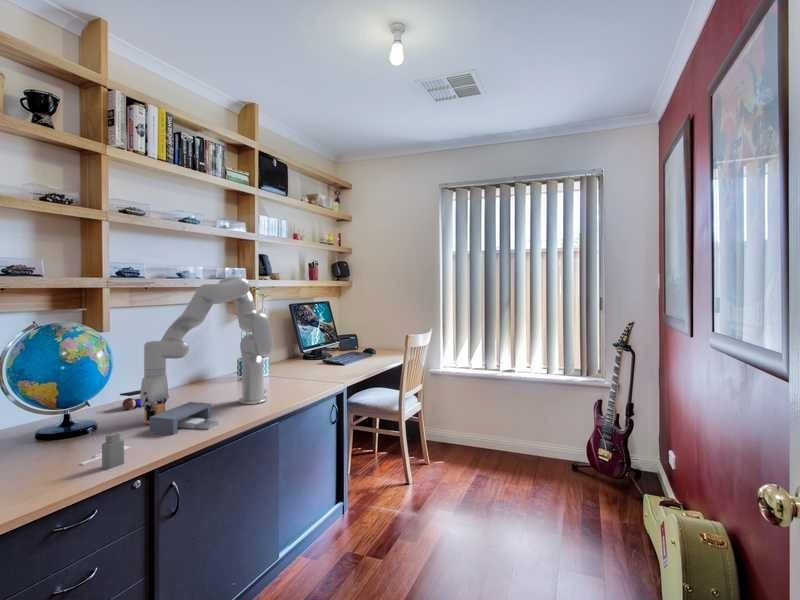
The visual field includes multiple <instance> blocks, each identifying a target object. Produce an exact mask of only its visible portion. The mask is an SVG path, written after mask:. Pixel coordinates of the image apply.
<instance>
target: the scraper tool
mask: <svg viewBox="0 0 800 600" xmlns="http://www.w3.org/2000/svg"><path fill="white" fill-rule="evenodd" d="M149 406H151V404H149ZM143 408H144V407H143ZM153 410H155V415H157V414H159V413H162V412H165V411H166V403H165V404H160V403H157V402H155V403H154V409H153ZM143 413H144V418H143V419H144V424H149V425H150V421H148V420H147V411H146V410H145V408H144V412H143ZM203 420H205V418H194V417H185V418H183V419H180V420H178V421H177V428H183V429H195V424H197V423H199V422H201V421H203Z"/></svg>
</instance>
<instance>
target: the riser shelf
mask: <svg viewBox="0 0 800 600" xmlns="http://www.w3.org/2000/svg"><path fill="white" fill-rule="evenodd" d="M185 417H189V418H201V419H205V420H208V419H209V420H210V419H211V418H212V403H210V402H208V403H207V402H195V401H189V402H186V403H183V404H181V405H179V406H176V407H173V408H171V409H167V410H165V412H162V413H159V414H157V415H154V416H151V417H150V424H149V433H153V434H163V435H176V434H178V427H177V421H178V420H180V419H183V418H185Z"/></svg>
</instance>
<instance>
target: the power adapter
mask: <svg viewBox="0 0 800 600" xmlns="http://www.w3.org/2000/svg"><path fill="white" fill-rule="evenodd" d="M108 429H109V431H108V434H106V435H105V439H104V440H105V442H103V443H101V453H102V459H101V467H102V469H104V470H110V469H114V468H116V467H119V466H122V465H124V464H125V450H124V446H125V439H123V438H121V431H118V429H117V425H116V424H115V428H114V429H115V431H114V432H111V426H109V428H108Z"/></svg>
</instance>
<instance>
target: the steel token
mask: <svg viewBox="0 0 800 600" xmlns="http://www.w3.org/2000/svg"><path fill="white" fill-rule="evenodd" d="M217 426H219V421H218V420H212V419H211V420H210V419H209V420H208V419H204V420H203V421H201V422H199V423H197V424H195V428H194V429H195V430H207V431H209V430H211V429H213V428H215V427H217Z"/></svg>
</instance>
